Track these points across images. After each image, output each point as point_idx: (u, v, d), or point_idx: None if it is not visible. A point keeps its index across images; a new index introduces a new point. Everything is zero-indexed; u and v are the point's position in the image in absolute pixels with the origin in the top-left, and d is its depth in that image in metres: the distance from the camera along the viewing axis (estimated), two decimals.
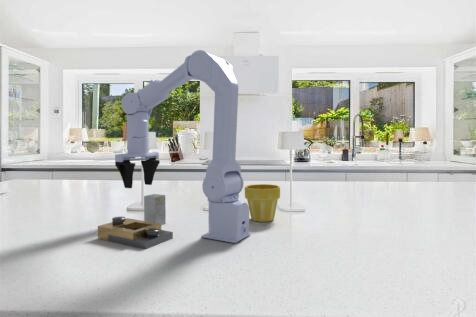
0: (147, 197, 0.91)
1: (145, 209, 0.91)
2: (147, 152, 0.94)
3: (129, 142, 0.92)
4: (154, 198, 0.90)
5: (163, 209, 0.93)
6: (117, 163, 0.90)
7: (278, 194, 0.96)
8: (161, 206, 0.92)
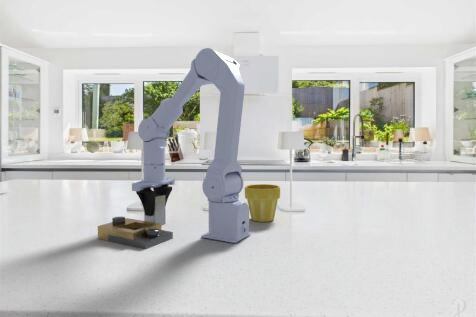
0: None
1: None
2: (164, 179, 0.91)
3: (145, 170, 0.90)
4: None
5: (163, 209, 0.93)
6: (138, 191, 0.89)
7: (278, 194, 0.96)
8: (161, 205, 0.92)
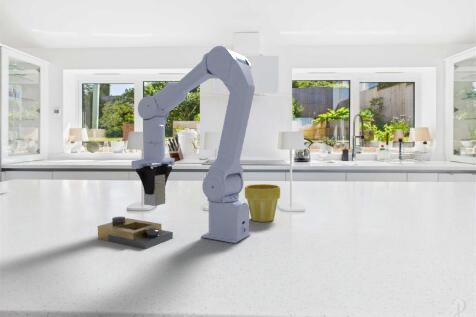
0: None
1: None
2: (164, 158, 0.91)
3: (145, 148, 0.89)
4: (154, 177, 0.89)
5: (163, 188, 0.92)
6: (138, 169, 0.88)
7: (278, 194, 0.96)
8: (161, 185, 0.91)
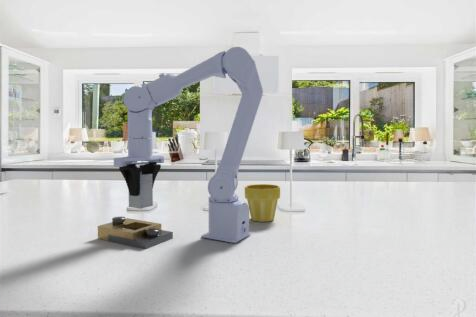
0: None
1: None
2: (151, 155, 0.82)
3: (130, 144, 0.80)
4: None
5: (150, 189, 0.83)
6: (121, 167, 0.79)
7: (278, 194, 0.96)
8: (147, 185, 0.82)
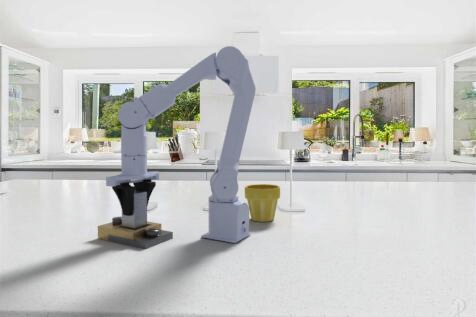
0: None
1: None
2: (145, 173, 0.78)
3: (123, 162, 0.76)
4: None
5: (144, 208, 0.80)
6: (114, 186, 0.76)
7: (278, 194, 0.96)
8: (141, 204, 0.79)
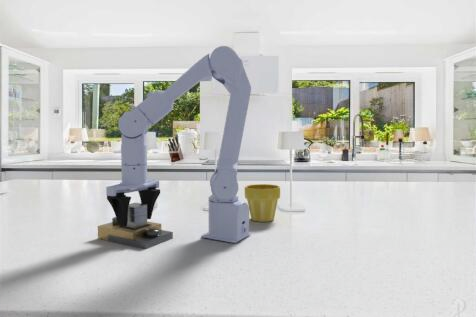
0: None
1: None
2: (145, 182, 0.78)
3: (123, 171, 0.77)
4: (133, 208, 0.77)
5: (144, 221, 0.80)
6: (109, 197, 0.74)
7: (278, 194, 0.96)
8: (142, 217, 0.79)
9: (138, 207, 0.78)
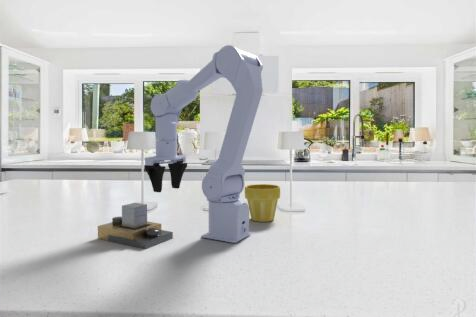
0: (125, 207, 0.78)
1: (123, 221, 0.79)
2: (176, 155, 0.92)
3: (158, 145, 0.90)
4: (133, 208, 0.77)
5: (144, 221, 0.80)
6: (147, 166, 0.87)
7: (278, 194, 0.96)
8: (142, 217, 0.79)
9: (138, 207, 0.78)
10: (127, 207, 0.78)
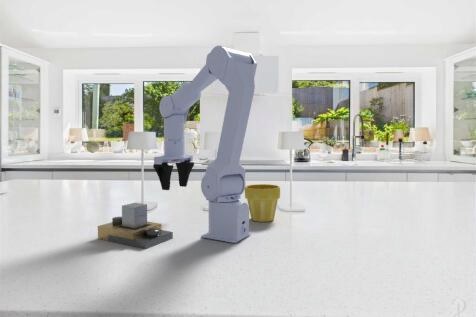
0: (125, 207, 0.78)
1: (123, 221, 0.79)
2: (183, 154, 0.95)
3: (166, 145, 0.93)
4: (133, 208, 0.77)
5: (144, 221, 0.80)
6: (155, 165, 0.91)
7: (278, 194, 0.96)
8: (142, 217, 0.79)
9: (138, 207, 0.78)
10: (127, 207, 0.78)
